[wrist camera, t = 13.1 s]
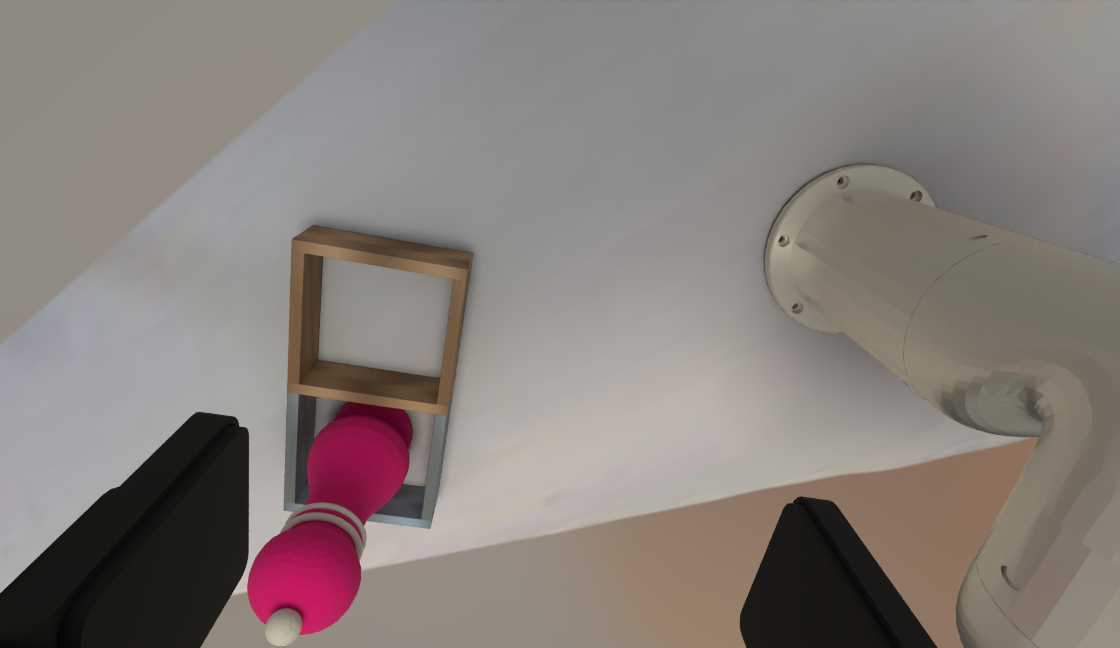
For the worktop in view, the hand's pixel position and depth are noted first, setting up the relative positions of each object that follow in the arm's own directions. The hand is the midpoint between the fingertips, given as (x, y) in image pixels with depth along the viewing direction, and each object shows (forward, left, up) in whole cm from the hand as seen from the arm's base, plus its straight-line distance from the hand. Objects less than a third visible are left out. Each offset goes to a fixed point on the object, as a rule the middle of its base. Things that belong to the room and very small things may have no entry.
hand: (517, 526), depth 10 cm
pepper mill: (+9, +21, -34) cm, 42 cm away
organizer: (+9, +16, -34) cm, 39 cm away
